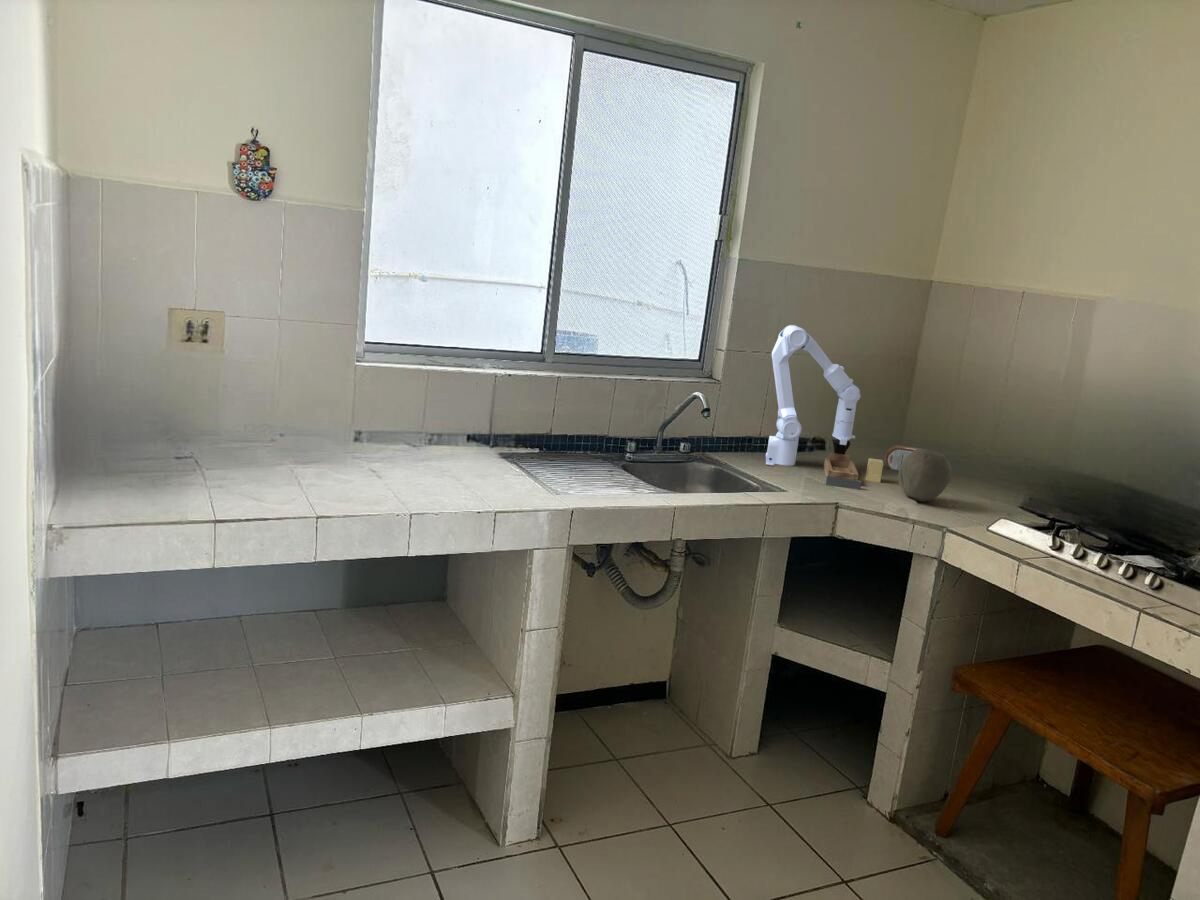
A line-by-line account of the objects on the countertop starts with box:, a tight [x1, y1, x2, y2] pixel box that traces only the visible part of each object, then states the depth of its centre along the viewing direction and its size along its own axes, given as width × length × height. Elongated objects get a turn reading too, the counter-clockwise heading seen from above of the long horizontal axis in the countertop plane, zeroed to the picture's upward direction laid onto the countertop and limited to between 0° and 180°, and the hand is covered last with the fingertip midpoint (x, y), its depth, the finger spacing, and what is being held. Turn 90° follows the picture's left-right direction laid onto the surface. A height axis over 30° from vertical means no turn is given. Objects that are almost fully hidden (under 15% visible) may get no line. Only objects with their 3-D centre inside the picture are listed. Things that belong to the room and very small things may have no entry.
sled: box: [823, 452, 859, 480], centre depth 287 cm, size 9×20×5 cm, turn 170°
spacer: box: [865, 457, 884, 483], centre depth 286 cm, size 4×4×7 cm
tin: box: [883, 445, 922, 472], centre depth 305 cm, size 15×3×8 cm, turn 84°
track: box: [824, 475, 863, 490], centre depth 287 cm, size 11×29×3 cm, turn 170°
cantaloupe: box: [897, 448, 953, 503], centre depth 269 cm, size 14×14×15 cm
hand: (837, 462), depth 299 cm, fingers closed
